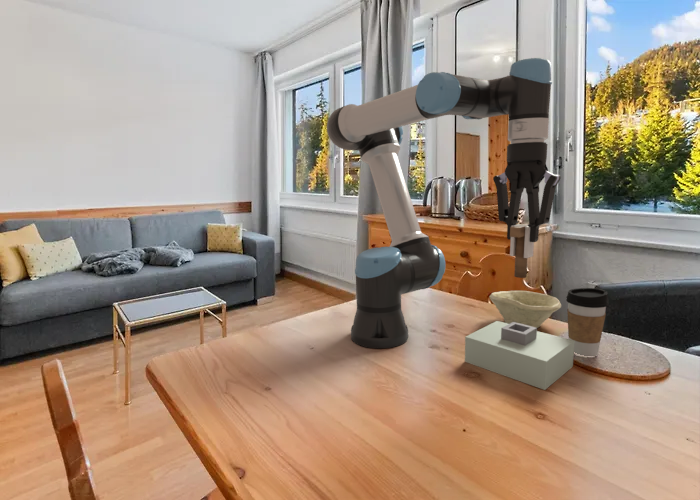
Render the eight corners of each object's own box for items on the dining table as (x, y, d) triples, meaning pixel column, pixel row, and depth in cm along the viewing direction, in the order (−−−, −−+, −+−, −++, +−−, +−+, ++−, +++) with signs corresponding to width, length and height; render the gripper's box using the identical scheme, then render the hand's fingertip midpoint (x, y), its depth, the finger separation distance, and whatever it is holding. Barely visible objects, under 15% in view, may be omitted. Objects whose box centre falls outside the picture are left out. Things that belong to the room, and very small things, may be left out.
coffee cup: (610, 361, 93) (615, 296, 90) (569, 359, 94) (573, 295, 92) (596, 346, 101) (601, 286, 98) (558, 344, 102) (562, 285, 100)
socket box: (464, 361, 95) (465, 326, 93) (496, 343, 104) (497, 311, 103) (544, 390, 82) (547, 349, 80) (572, 366, 91) (575, 329, 89)
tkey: (522, 272, 93) (525, 223, 91) (533, 274, 91) (536, 224, 89) (507, 278, 88) (509, 226, 86) (518, 280, 86) (520, 227, 84)
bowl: (493, 340, 117) (484, 297, 126) (561, 337, 114) (547, 292, 123) (498, 314, 106) (488, 269, 116) (573, 310, 104) (556, 264, 113)
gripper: (482, 144, 87) (479, 254, 92) (559, 138, 76) (551, 264, 81) (500, 144, 92) (496, 249, 97) (574, 139, 81) (566, 258, 85)
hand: (521, 255), depth 89 cm, fingers closed on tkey, 2 cm apart
